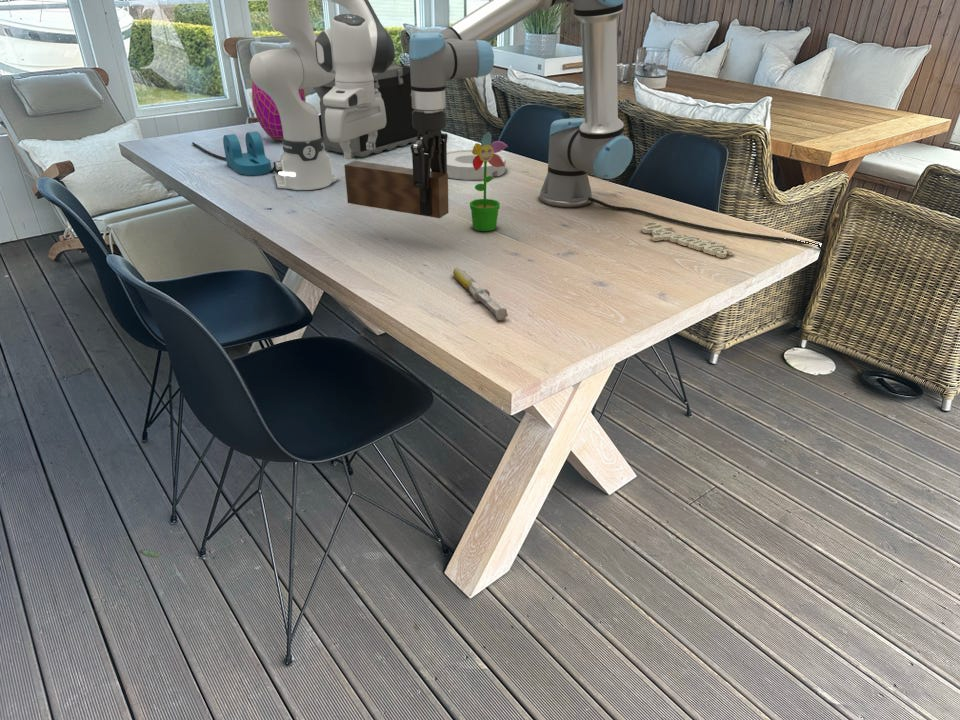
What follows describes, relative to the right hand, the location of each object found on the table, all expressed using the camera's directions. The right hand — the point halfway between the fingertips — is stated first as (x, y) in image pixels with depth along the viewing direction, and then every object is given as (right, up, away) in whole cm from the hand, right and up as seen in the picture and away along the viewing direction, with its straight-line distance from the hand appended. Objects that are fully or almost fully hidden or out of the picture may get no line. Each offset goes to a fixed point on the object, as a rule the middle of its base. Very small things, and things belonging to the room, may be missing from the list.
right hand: (431, 211), depth 164 cm
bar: (-9, +2, +4) cm, 10 cm away
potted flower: (+13, -1, +17) cm, 22 cm away
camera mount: (-65, +28, +65) cm, 96 cm away
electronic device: (-29, +45, +94) cm, 108 cm away
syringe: (+11, -22, -19) cm, 32 cm away
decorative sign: (+63, -6, +10) cm, 64 cm away
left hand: (-17, +14, +1) cm, 22 cm away
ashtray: (+9, +28, +66) cm, 72 cm away
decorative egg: (-64, +49, +100) cm, 129 cm away
